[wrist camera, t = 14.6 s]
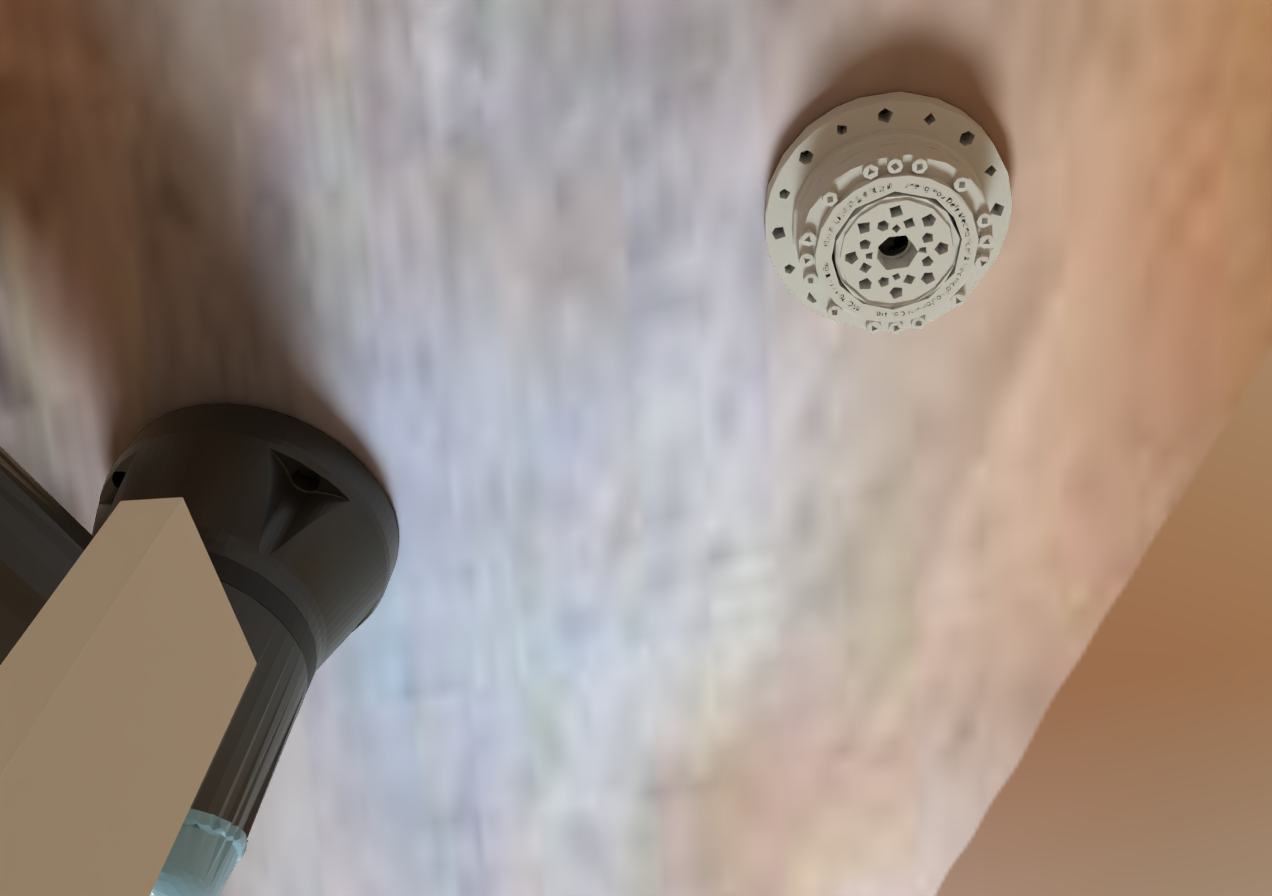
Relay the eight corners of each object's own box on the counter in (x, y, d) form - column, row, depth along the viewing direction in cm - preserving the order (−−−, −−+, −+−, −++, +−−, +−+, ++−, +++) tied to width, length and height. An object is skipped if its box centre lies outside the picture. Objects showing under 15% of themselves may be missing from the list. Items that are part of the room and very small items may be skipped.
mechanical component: (1010, 73, 41) (754, 105, 42) (1038, 109, 37) (758, 143, 39) (998, 301, 47) (772, 322, 48) (1021, 351, 43) (776, 373, 44)
